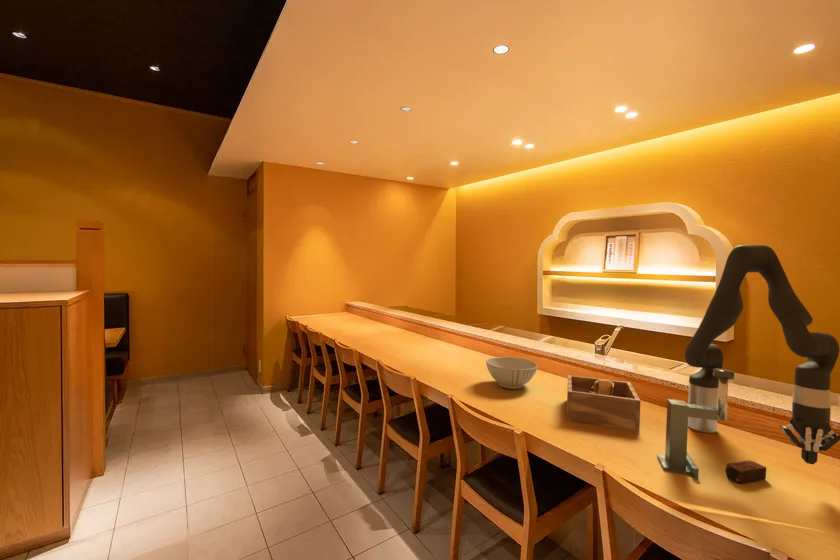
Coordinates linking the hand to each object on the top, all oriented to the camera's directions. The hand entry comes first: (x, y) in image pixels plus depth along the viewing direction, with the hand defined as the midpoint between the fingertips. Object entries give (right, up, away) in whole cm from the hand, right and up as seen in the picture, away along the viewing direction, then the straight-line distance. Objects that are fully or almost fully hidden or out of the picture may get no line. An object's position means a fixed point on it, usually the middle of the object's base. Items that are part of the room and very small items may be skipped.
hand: (808, 462), depth 107 cm
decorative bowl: (-63, -4, +93) cm, 112 cm away
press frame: (-27, -7, +11) cm, 30 cm away
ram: (-19, +10, +8) cm, 22 cm away
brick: (-14, -4, +1) cm, 15 cm away
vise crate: (-34, -6, +55) cm, 64 cm away
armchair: (-31, -6, +56) cm, 64 cm away
